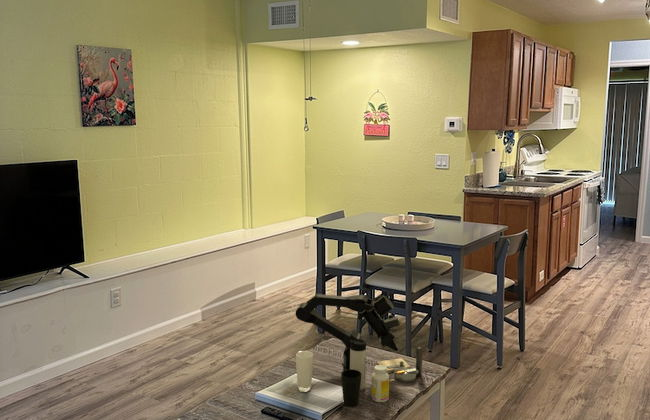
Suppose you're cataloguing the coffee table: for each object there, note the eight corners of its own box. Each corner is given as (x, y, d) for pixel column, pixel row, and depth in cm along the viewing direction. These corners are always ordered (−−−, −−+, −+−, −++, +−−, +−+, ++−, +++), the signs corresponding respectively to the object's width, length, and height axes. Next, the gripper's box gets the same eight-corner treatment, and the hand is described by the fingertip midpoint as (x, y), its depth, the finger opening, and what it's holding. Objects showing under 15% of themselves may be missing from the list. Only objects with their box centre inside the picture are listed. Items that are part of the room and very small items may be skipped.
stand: (385, 373, 250) (385, 365, 249) (376, 364, 258) (376, 357, 258) (410, 369, 254) (411, 362, 253) (401, 360, 262) (401, 353, 262)
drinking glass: (305, 384, 240) (305, 349, 237) (316, 390, 235) (316, 354, 232) (292, 389, 235) (292, 353, 232) (304, 395, 230) (304, 359, 228)
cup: (361, 399, 228) (361, 369, 226) (360, 409, 220) (361, 378, 218) (341, 398, 229) (341, 368, 226) (339, 408, 221) (340, 377, 219)
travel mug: (346, 385, 238) (346, 338, 235) (361, 382, 241) (361, 336, 238) (353, 392, 233) (353, 344, 229) (368, 389, 235) (369, 341, 232)
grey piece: (400, 384, 240) (401, 356, 238) (390, 374, 248) (390, 347, 246) (427, 379, 245) (428, 351, 242) (415, 370, 253) (416, 343, 251)
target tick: (389, 381, 243) (389, 380, 242) (388, 380, 243) (388, 379, 243) (394, 380, 244) (394, 379, 243) (393, 379, 244) (393, 378, 244)
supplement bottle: (390, 396, 230) (391, 365, 228) (386, 404, 224) (387, 372, 222) (373, 393, 233) (374, 362, 230) (369, 401, 226) (369, 369, 224)
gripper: (392, 314, 242) (416, 344, 242) (387, 305, 260) (408, 333, 261) (370, 330, 242) (394, 361, 242) (367, 321, 260) (388, 349, 261)
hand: (397, 350), depth 251 cm, fingers closed
